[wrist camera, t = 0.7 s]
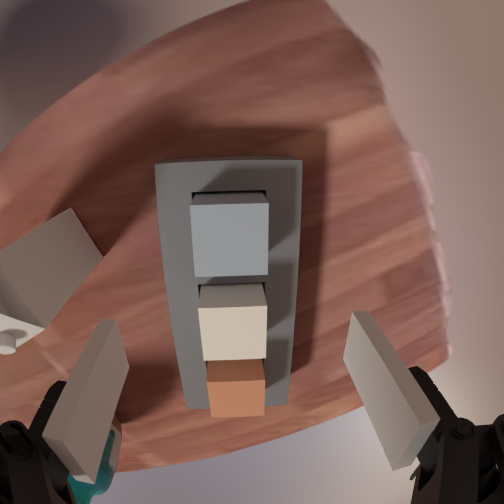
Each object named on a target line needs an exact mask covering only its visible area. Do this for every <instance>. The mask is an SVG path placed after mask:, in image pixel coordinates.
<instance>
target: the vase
mask: <svg viewBox="0 0 504 504" xmlns="http://www.w3.org/2000/svg"><path fill="white" fill-rule="evenodd" d="M121 440H122V428H121V424H120V422H119V419H118V418H117V416H116V415H115V414H114V417H113V420H112V423H111V427H110V430H109V433H108V437H107V440H106V444H105V447H104V451H103V455H102V458H101V462H100V466H99V469H98V473H97V477H96V481H95V484H91V483H86V482H82V481H78V480H75V478H74V477H73V476H72V475H71V474H70V472H69V476H68V479H67V480H68V482H69V483H70V485H71V488H72V491H73V494H74V497H75V500H76V503H77V504H90V501H91V498H92V497H93V496H94V495H100V494H102V493H104V492H106V491H107V490H108V488H109V486H110V484H111V482H112V479H113V476H114V473H115V470H116V466H117V462H118V457H119V453H120V447H121Z"/></svg>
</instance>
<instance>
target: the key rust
mask: <svg viewBox="0 0 504 504" xmlns="http://www.w3.org/2000/svg"><path fill="white" fill-rule="evenodd" d="M207 389H208V396H209V404H210V410H211V417H212V418H216V417H246V416H262V415H264V405H265V375H264V369H263V362H262V358H261V359H241V360H209V361H208V363H207Z"/></svg>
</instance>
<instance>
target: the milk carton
mask: <svg viewBox="0 0 504 504" xmlns="http://www.w3.org/2000/svg"><path fill="white" fill-rule="evenodd" d="M102 259H103V256H102V254H101V253H100V251H99V250H98V248H97V247H96V245H95V244H94V242H93V241H92V239H91V238H90V236H89V235H88V233H87V232H86V230H85V229H84V227H83V225H82V224H81V222H80V221H79V219H78V217H77V216H76V214H75V212H74V211H73V209H72V208H71V207H70V208H69V209H67V210H65V211H63V212H62V213H60V214H58V215H57V216H55V217H53V218H51V219H50V220H48V221H47V222H45V223H43V224H42V225H40V226H38V227H37V228H35V229H34V230H32V231H30V232H29V233H27V234H26V235H24V236H23V237H21V238H19V239H18V240H16V241H15V242H13V243H12V244H10V245H9V246H7V247H6V248H4V249H3V250H2V251H0V354H13V353H15V352H16V348H17V347H18V346H20V345H21V344H23V343H25V342H26V341H28V340H29V339H31V338H32V337H34V336H36V335H37V334H39V333H40V332H42V331H43V330H45V329H46V328H47V326H48V325H49V324H50V323H51V321H52V320H53V319H54V317H55V316H56V315H57V313H58V312H59V311H60V310H61V308H62V307H63V306H64V304H65V303H66V302H67V301H68V299H69V298H70V297H71V296H72V294H73V293H74V292H75V291H76V289H77V288H78V287H79V286H80V285H81V283H82V282H83V281H84V280H85V279H86V277H87V276H88V275H89V274H90V273H91V271H92V270H93V269H94V268H95V267H96V266H97V264H98V263H99V262H100V261H101V260H102Z"/></svg>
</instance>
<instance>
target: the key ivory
mask: <svg viewBox="0 0 504 504" xmlns="http://www.w3.org/2000/svg"><path fill="white" fill-rule="evenodd" d="M198 314H199V323H200V333H201V342H202V350H203V358H204V361H209V360H241V359H261V358H266V336H267V303H266V299H265V294H264V290H263V286H262V282H255V283H227V284H201V290H200V297H199V304H198Z"/></svg>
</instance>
